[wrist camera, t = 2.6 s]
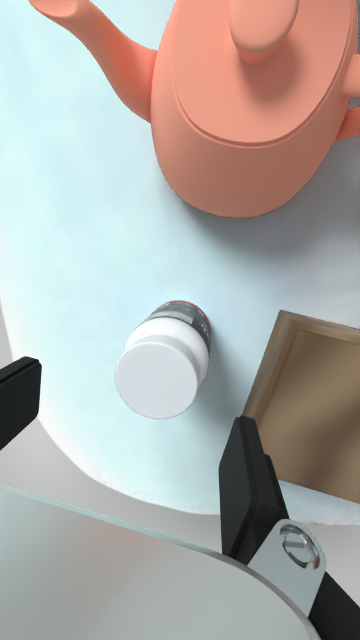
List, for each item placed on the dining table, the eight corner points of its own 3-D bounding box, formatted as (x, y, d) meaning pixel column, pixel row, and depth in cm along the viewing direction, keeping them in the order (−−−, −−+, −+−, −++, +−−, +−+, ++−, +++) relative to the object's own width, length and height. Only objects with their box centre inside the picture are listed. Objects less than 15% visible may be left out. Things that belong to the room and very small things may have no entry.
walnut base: (450, 352, 20) (507, 375, 16) (372, 478, 24) (403, 521, 20) (280, 309, 21) (294, 322, 17) (233, 437, 25) (237, 471, 21)
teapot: (318, 241, 19) (414, 229, 10) (103, 193, 20) (12, 144, 11) (391, 46, 15) (647, -255, 6) (124, 4, 17) (16, -294, 8)
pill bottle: (208, 360, 23) (203, 436, 13) (150, 354, 23) (106, 422, 14) (213, 300, 21) (212, 339, 12) (151, 296, 22) (102, 328, 12)
